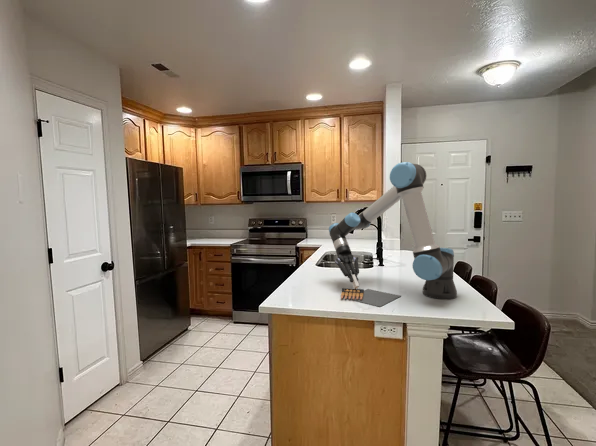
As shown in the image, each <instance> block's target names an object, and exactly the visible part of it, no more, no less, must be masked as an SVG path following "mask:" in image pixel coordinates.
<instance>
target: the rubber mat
mask: <svg viewBox="0 0 596 446" xmlns="http://www.w3.org/2000/svg"><path fill="white" fill-rule="evenodd" d="M348 297H349V296H348ZM348 297H347V299H346V300H349V301H353V302H357V303H360V304H365V305H369V306H373V307H377V308H381V307H383V306H386V305H387V304H390V303H391V302H393V301H395V300H397V299H399V298H401V297H402V295H399V294H396V293H390V292H385V291H379V290H376V289H370V288H367V289H364V295H363V298H362V300H360V296H359V299H358V300H357V299H356V297H355V299H354V300H353V299H352V297H351V299H349V298H348Z"/></svg>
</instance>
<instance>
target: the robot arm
mask: <svg viewBox="0 0 596 446" xmlns="http://www.w3.org/2000/svg"><path fill="white" fill-rule="evenodd" d="M389 180H390V183H391V184H392V185H393V186H391V188H390V189H388V190H387V191H386V192H385V193H383V195H381V196H380V197H379V198H378V199H376V200H375V201H374V202H373V203H372V204H370V205H369V206H368V207H367V208H366V209H364V210H363V211H362V212H361V213H360V214H357V213H355V212H349V213H348V214H346V215H345V217H344V218H343V219H342V220H340V222H339V223H338V222H335V223H332V224H331V225H329V227H328V233H329V236H330V239H331V242H332V244H333V247H334V250H335V252H336V255H337V258H336V259H335V261H334V263H335V264H336V265H337V266H338V268H339V269H340V271H341V273H342V274H343V276H344V277H347V278H348V279H349V282H350V283H351V284H352V286H353V289H359V287H360V285H359V282H358V281H359V278H358V275H359V273H360V268H359V257H356V256H354V255H353V254H352V253H353V252H352V251H351V247H350V246H349V242H348V240H347V238H346V236H347V235H348V234H350V233H351V232H352V231H355V230H361V229H363V230H364V229H366V228H369V227H370V225H371V224H372V222H374V221H375V220H377V218H379V217H380V216H381V215H383V214H384V213H385V212H387V211H388V210H389V209H390V208H392V207H393V206H394V205H396V203H398V202H399V201H400V200H402V203H403V206H404V209H405V210H404V211H405V214H406V217H407V221H408V222H407V223H408V226H409V230H410V233H411V236H412V242H413V245H414V249H413V250H412V255H413V262H412V269H413V272H414V274H415V275H416V276H417V277H418V278H420V279H421V280H423V281H425V282H424V284H423V286H422V294H423V295H424V296H425V297H429V298H433V299H438V300H451V299H452V300H453V299H456V298H457V297H458V290H457V288H456V284H455V282H454V262H455V261H454V260H455V259H454V258H455V254H454V253H455V252H454V251H455V250H454V249H453V248H450V247H449V248H447V247H440V246H439V245H438V244H436V242H435V238H434V235H433V232H432V228H431V224H430V220H429V216H428V211H427V209H426V206H425V202H424V197H423V195H422V191H423V189H424V184H425V182H426V181H427V172H426V169H425V168H424V167H423V166H422V165H420V164H417V163H412V162H409V161H403V162H398V163H397V164H395V165H394V166H393V167H392V168H391V170H390V173H389Z"/></svg>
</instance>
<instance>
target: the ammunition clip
mask: <svg viewBox="0 0 596 446" xmlns="http://www.w3.org/2000/svg"><path fill="white" fill-rule="evenodd" d="M364 290H365V289H364V288H357V289H354V288H344V287H343V288H342V287H341V292H340V293H341V294H340V299H345V300H349V299H351V297H352V299H353V300H354V299H355V297H356V299H357V300H358V299H359V296H360V300H362V298H363V295H364ZM347 297H348V298H349V299H347ZM353 300H352V301H353Z"/></svg>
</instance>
